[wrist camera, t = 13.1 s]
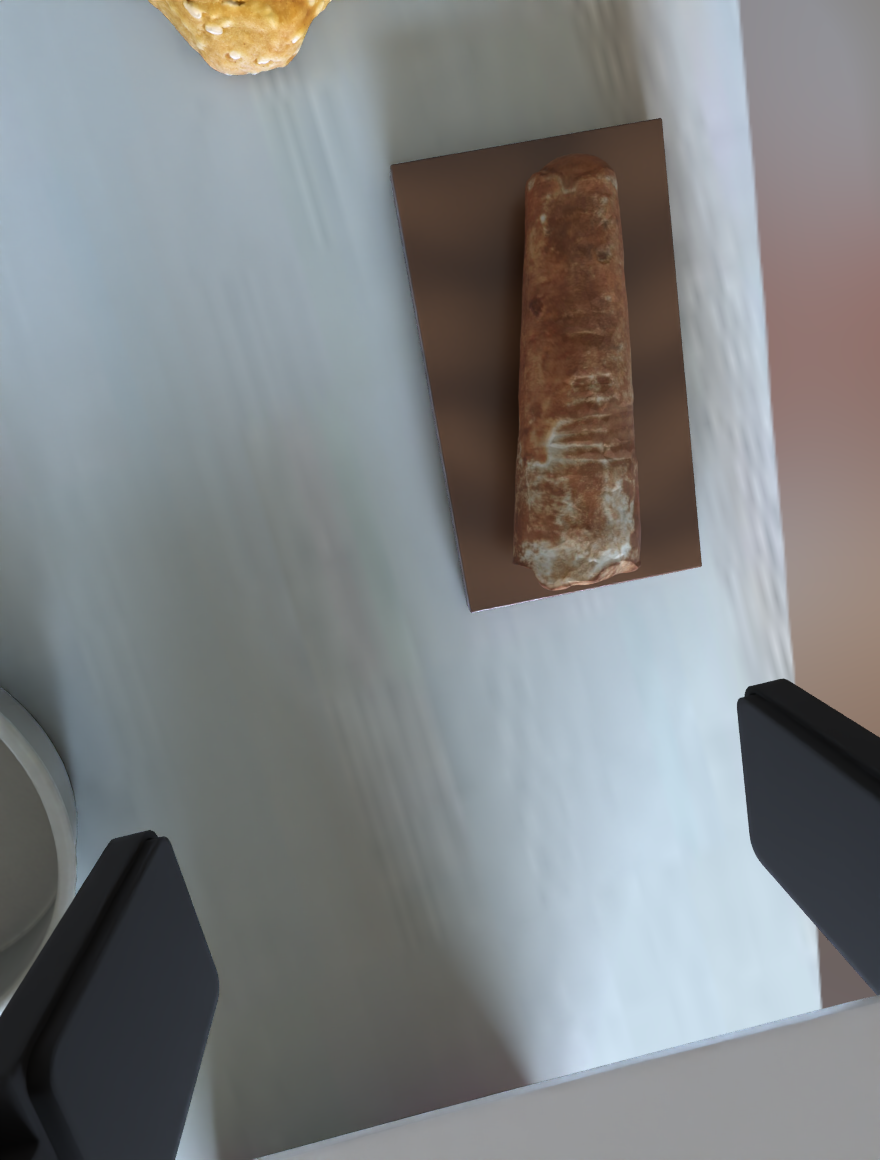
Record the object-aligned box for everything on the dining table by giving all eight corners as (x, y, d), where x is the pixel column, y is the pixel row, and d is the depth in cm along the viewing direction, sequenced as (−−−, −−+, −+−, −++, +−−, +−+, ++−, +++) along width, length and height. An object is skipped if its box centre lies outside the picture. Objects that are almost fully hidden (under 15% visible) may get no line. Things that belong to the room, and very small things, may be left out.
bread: (502, 569, 35) (524, 595, 30) (506, 172, 31) (532, 117, 25) (618, 566, 36) (660, 591, 30) (637, 174, 31) (690, 121, 26)
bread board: (389, 176, 32) (389, 164, 30) (649, 131, 32) (662, 116, 31) (467, 606, 37) (470, 613, 35) (690, 561, 37) (702, 567, 36)
